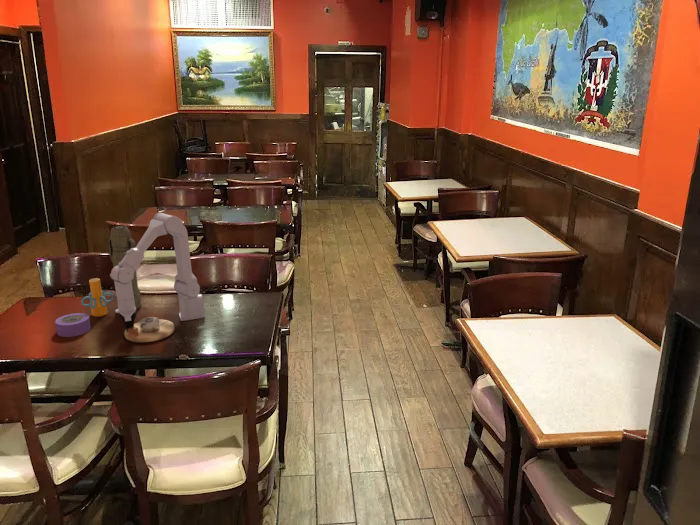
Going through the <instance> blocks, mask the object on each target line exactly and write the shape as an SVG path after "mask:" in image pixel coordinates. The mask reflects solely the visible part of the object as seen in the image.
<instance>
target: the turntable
mask: <svg viewBox="0 0 700 525" xmlns="http://www.w3.org/2000/svg"><path fill="white" fill-rule="evenodd" d="M158 319H159V325H160V329H159V330H158V331H156V332H153V333H142V332H141V331H140V323H139V321H138V322H134V326H133V327H131V328H128V332H127V330H126V329H125V330H124V337H125V338H124V339H126V340H127V341H130V342H132V343H150V342H151V343H152V342H156V341H160V340H163V339H166V338H167V337H169V336H171V335H172V334H173V333H174V332H175V324H174V323H173V321H170V320H168V319H162V318H161V319H160V318H158Z"/></svg>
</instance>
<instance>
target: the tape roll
mask: <svg viewBox="0 0 700 525" xmlns="http://www.w3.org/2000/svg"><path fill="white" fill-rule="evenodd" d="M90 320H91V319H90V316H89V314H88V313H85V312H84V313H83V312H77V313H76V312H75V313H70V314H69V313H68V314H65V315H62V316H60V317H58V318H56V320H55V322H54V323H55V328H56V334H57V335H58V336H59V337H66V338H71V337H72V338H73V337H77V336H81V335H83V334H86V333H88V332H90V330H91V328H92V327H91V321H90Z"/></svg>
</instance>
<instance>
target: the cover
mask: <svg viewBox="0 0 700 525" xmlns="http://www.w3.org/2000/svg"><path fill="white" fill-rule="evenodd" d="M159 319H160V318H159V317H157V316H156V317H155V316H148V317H144V318H142V319H140V320H139V321H138V322H139V323H140V331H141V332H142V333H153V332H156V331H158V330H159V329H160V325H159Z"/></svg>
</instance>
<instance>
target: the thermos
mask: <svg viewBox="0 0 700 525" xmlns="http://www.w3.org/2000/svg"><path fill="white" fill-rule="evenodd" d="M131 235H132V234H131V231H130V229H129V228H128V226H126V225H116V226H113V227H112V228H111V230H110V237H109V238H108V240H107V245H108V252H109V258H110V262H112V266H113V268H114V267H115V266H117V265H118V264H119V262H121V261H122V259H123V258H124V257H125V255H126V252H127V251H129V250H130V249H131V248H135V247H136V246H137V244H136V241H135V240H134V238H132V236H131ZM137 276H138V275H137V268H136V269H135V272H134V278H133V279H132V280H131V282H132V289H133V296H134V302H135V307H136V310H139V309H140V308H141V307H142V302H141V301H142V297H141V296H142V295H141V291H140V289H139V285H138V277H137ZM138 308H139V309H138Z"/></svg>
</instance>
